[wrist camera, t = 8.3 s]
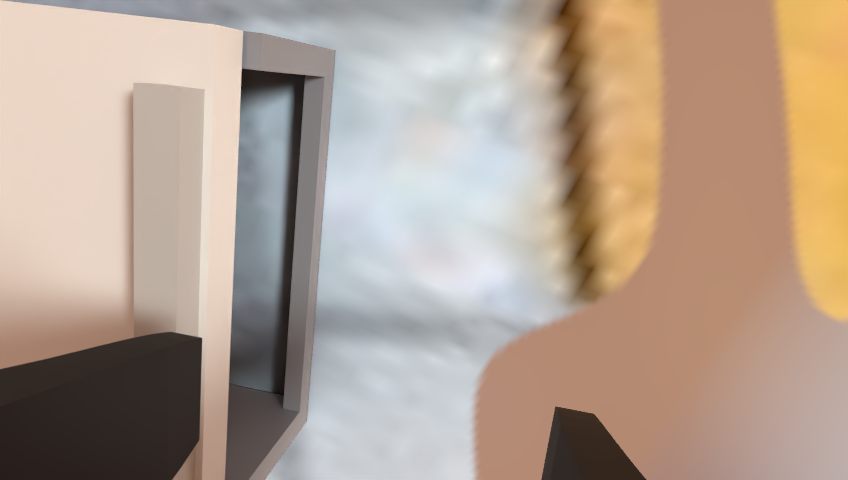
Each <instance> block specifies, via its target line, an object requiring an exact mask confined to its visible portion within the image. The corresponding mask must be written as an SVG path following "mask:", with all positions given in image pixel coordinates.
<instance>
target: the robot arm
mask: <svg viewBox="0 0 848 480" xmlns="http://www.w3.org/2000/svg"><path fill="white" fill-rule="evenodd" d="M201 366H202V338H201V337H196V336H190V335H185V334H180V333H175V332H163V333H155V334H149V335H144V336H139V337H135V338H130V339H126V340H121V341H117V342H113V343H109V344H105V345H100V346H96V347H92V348H88V349H84V350H80V351H76V352H72V353H68V354H64V355H60V356H56V357H52V358H48V359H43V360H39V361H34V362H30V363H25V364H21V365H16V366H12V367H7V368H3V369H0V480H172V479H173V478H174V477H175V475H176V474H177V473H178V471H179V470H180V468H181V467H182V466H183V464H184V463H185V461H186V460H187V458H188V457H189V455H190V454H191V452H192V451H193V449H194V448H195V446H196V445H197V443H198V442H199V437H200V401H201ZM542 480H646V479H645V478H644V477H643V475H642V474H641V473H640V472H639V470H638V469H637V468H636V467H635V466H634V464H633V463H632V462H631V461H630V459H629V458H628V457H627V456H626V454H625V453H624V452H623V450H622V449H621V448H620V447H619V445H618V444H617V443H616V442H615V440H614V439H613V438H612V436H611V435H610V434H609V432H608V431H607V430H606V429H605V427H604V426H603V424H602V423H601V422H600V421H599V420H598V418H597V417H596V416H595V415H594V414H591V413H586V412H581V411H576V410H571V409H566V408H561V407H555V412H554V418H553V422H552V427H551V433H550V438H549V443H548V448H547V453H546V459H545V464H544V469H543V475H542Z"/></svg>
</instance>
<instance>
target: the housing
mask: <svg viewBox="0 0 848 480" xmlns="http://www.w3.org/2000/svg"><path fill="white" fill-rule="evenodd" d="M334 64H335V50H331V49H327V48H323V47H318V46H314V45H310V44H306V43H301V42H297V41H293V40H288V39H284V38H280V37H276V36H271V35H267V34H263V33H255V32H246V31H243V49H242V68H243V69H251V70H259V71H269V72H280V73H290V74H300V75H305V85H304V100H303V115H302V130H301V145H300V160H299V176H298V191H297V206H296V221H295V236H294V251H293V266H292V281H291V296H290V311H289V326H288V342H287V357H286V372H285V387H284V395H279V394H274V393H269V392H265V391H260V390H255V389H250V388H245V387H240V386H235V385H230V384H229V391H228V416H227V440H226V465H225V480H265V479H266V477H267V476H268V475H269V473H270V472H271V470H272V469H273V468H274V466H275V465H276V463H277V462H278V461H279V459H280V458H281V456H282V455H283V454H284V452H285V451H286V449H287V448H288V447H289V445H290V444H291V442H292V441H293V439H294V438H295V437H296V435H297V434H298V432H299V431H300V430H301V428H302V427H303V425H304V424H305V423H306V421H307V412H308V399H309V386H310V373H311V360H312V347H313V335H314V322H315V309H316V296H317V283H318V270H319V257H320V244H321V231H322V219H323V206H324V193H325V180H326V167H327V154H328V141H329V128H330V115H331V103H332V90H333V77H334Z"/></svg>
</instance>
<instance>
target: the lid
mask: <svg viewBox="0 0 848 480" xmlns="http://www.w3.org/2000/svg"><path fill="white" fill-rule="evenodd" d="M242 49H243V31H241V30H237V29H232V28H228V27H224V26H219V25H214V24H205V23H196V22H187V21H179V20H170V19H161V18H152V17H143V16H134V15H125V14H116V13H108V12H99V11H90V10H81V9H72V8H63V7H54V6H46V5H37V4H28V3H19V2H10V1H1V0H0V369H3V368H7V367H12V366H16V365H21V364H25V363H30V362H34V361H39V360H43V359H48V358H52V357H56V356H60V355H64V354H68V353H72V352H76V351H80V350H84V349H88V348H92V347H96V346H100V345H105V344H109V343H113V342H117V341H121V340H126V339H130V338H135V337H139V336H144V335H149V334H155V333H163V332H175V333H180V334H185V335H190V336H196V337H201V338H202V366H201V401H200V437H199V442H198V443H197V445H196V446H195V448H194V449H193V451H192V452H191V454H190V455H189V457H188V458H187V460H186V461H185V463H184V464H183V466H182V467H181V468H180V470H179V471H178V473H177V474H176V475H175V477H174V478H173V479H172V480H225V465H226V440H227V416H228V391H229V367H230V342H231V318H232V294H233V269H234V245H235V220H236V196H237V171H238V147H239V122H240V98H241V73H242Z"/></svg>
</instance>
